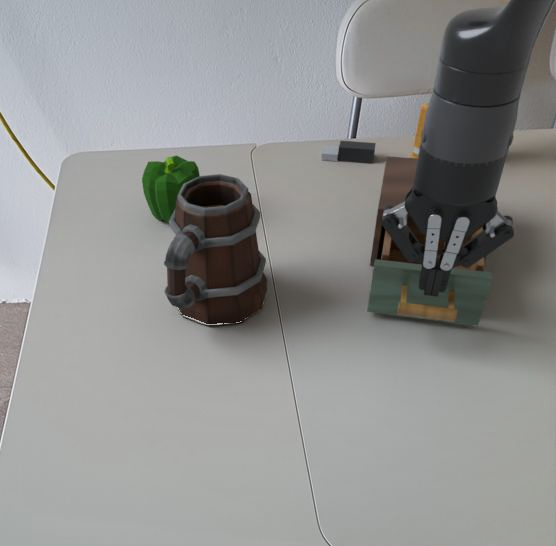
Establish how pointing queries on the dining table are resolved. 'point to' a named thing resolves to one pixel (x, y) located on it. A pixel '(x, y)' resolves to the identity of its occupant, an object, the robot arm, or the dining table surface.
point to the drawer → (411, 300)
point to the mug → (215, 252)
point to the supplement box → (419, 131)
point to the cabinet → (393, 195)
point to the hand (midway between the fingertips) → (430, 291)
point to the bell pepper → (166, 184)
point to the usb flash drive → (350, 152)
